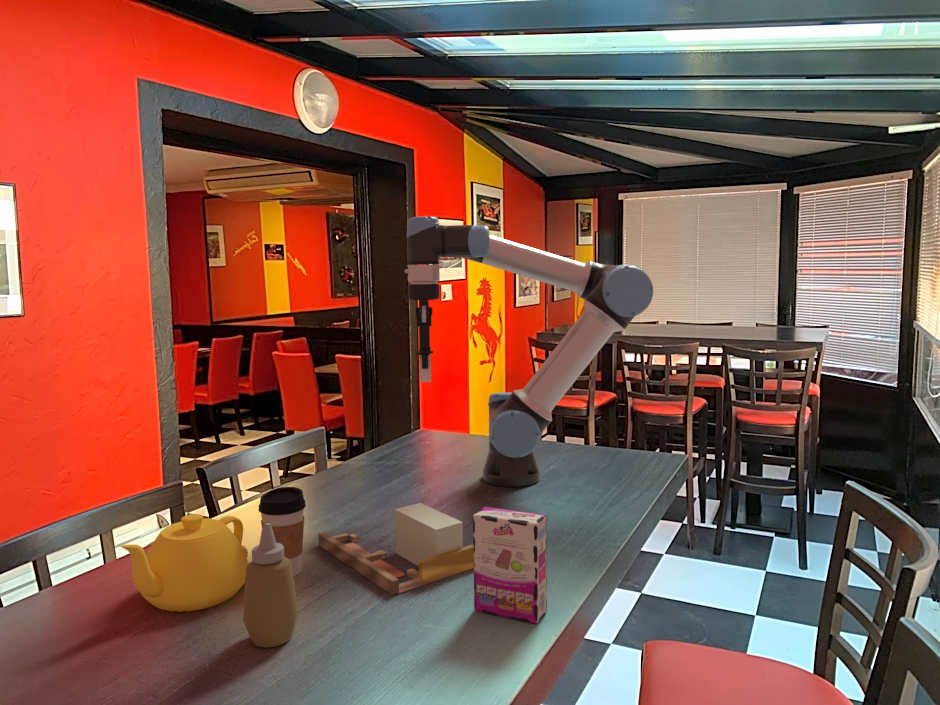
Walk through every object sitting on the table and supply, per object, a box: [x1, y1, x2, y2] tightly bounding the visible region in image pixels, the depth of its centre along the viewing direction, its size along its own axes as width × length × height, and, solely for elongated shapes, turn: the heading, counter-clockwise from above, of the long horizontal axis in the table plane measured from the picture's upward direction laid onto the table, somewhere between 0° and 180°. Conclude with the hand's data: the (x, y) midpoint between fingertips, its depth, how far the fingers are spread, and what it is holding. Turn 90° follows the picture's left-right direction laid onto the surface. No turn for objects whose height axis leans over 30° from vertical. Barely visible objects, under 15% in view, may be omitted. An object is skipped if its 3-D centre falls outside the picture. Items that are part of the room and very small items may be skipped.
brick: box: [394, 502, 464, 567], centre depth 135 cm, size 14×6×9 cm, turn 38°
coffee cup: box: [258, 486, 306, 577], centre depth 130 cm, size 8×8×15 cm
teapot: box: [119, 513, 249, 613], centre depth 122 cm, size 25×18×14 cm
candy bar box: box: [472, 506, 548, 624], centre depth 114 cm, size 11×5×16 cm, turn 65°
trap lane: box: [318, 531, 474, 596], centre depth 138 cm, size 28×20×4 cm
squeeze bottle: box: [242, 523, 299, 649], centre depth 107 cm, size 8×8×18 cm
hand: (425, 381), depth 171 cm, fingers closed
